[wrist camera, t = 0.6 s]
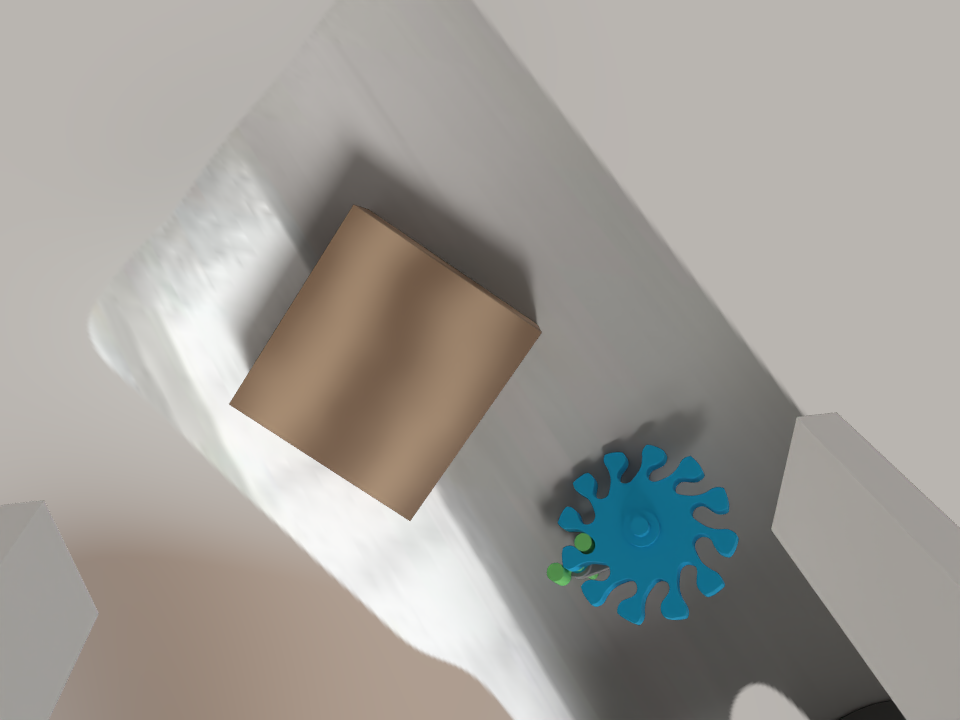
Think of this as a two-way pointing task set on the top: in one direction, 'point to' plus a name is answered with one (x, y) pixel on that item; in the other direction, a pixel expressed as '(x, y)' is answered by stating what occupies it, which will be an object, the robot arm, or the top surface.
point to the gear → (642, 535)
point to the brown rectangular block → (385, 362)
